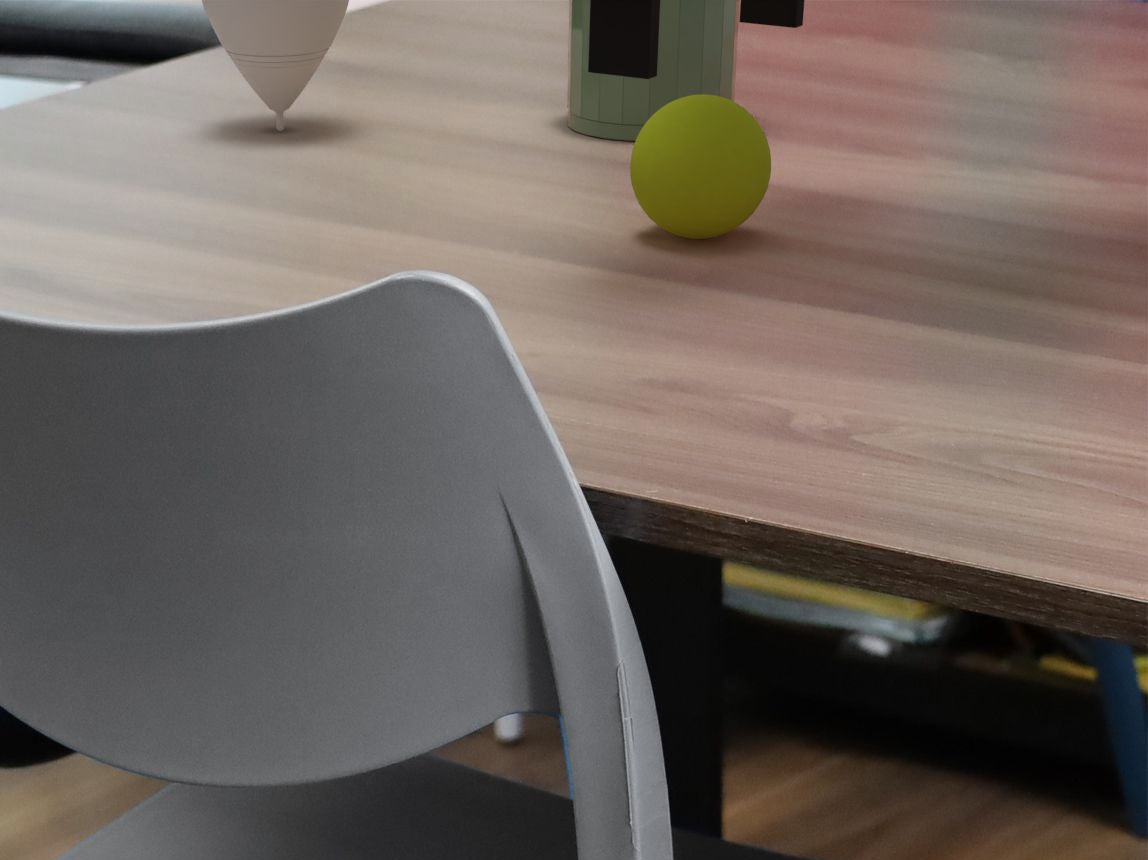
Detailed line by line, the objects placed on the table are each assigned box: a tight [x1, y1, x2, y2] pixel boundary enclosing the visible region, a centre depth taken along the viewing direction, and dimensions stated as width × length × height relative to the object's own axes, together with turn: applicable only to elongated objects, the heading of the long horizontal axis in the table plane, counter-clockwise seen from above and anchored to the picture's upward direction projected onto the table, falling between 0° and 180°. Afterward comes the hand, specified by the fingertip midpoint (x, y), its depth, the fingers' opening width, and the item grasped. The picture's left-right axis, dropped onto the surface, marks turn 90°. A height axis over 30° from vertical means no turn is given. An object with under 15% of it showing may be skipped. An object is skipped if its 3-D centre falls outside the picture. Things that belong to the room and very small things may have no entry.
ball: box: [629, 94, 772, 240], centre depth 100 cm, size 6×6×6 cm
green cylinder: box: [566, 0, 740, 142], centre depth 120 cm, size 9×9×11 cm
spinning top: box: [201, 0, 350, 132], centre depth 120 cm, size 8×8×12 cm
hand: (700, 49), depth 98 cm, fingers open, 13 cm apart
